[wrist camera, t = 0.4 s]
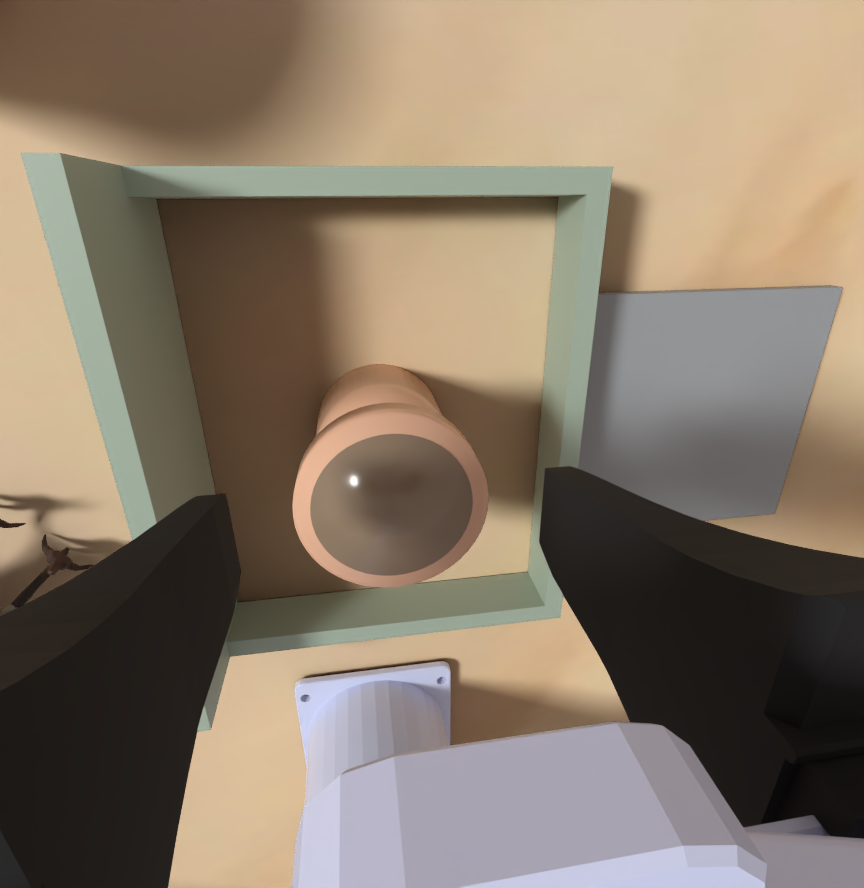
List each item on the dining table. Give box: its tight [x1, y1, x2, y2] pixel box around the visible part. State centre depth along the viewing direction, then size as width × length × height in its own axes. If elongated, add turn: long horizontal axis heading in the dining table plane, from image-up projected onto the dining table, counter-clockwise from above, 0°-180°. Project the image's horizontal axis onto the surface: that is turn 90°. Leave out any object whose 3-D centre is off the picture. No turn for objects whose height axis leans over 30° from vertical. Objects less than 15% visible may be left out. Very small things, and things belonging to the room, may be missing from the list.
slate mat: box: [578, 285, 843, 521], centre depth 24 cm, size 11×11×1 cm
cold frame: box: [21, 153, 613, 732], centre depth 19 cm, size 19×16×6 cm
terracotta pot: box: [292, 364, 489, 588], centre depth 19 cm, size 6×6×7 cm
